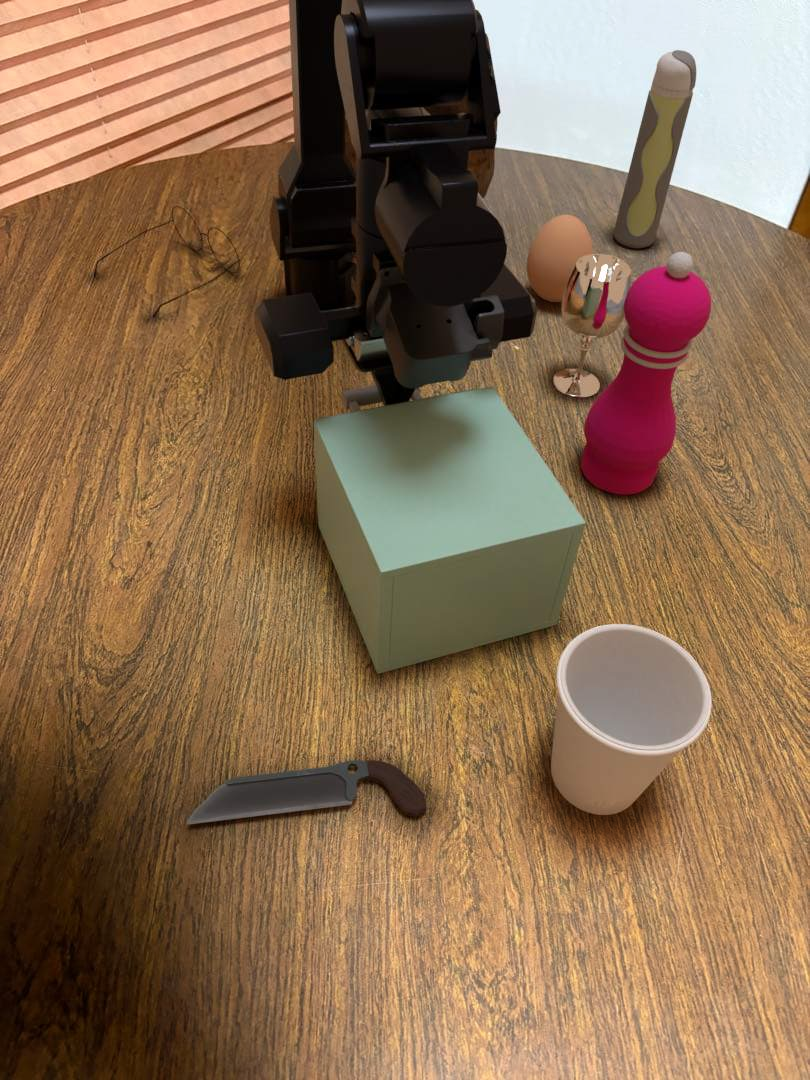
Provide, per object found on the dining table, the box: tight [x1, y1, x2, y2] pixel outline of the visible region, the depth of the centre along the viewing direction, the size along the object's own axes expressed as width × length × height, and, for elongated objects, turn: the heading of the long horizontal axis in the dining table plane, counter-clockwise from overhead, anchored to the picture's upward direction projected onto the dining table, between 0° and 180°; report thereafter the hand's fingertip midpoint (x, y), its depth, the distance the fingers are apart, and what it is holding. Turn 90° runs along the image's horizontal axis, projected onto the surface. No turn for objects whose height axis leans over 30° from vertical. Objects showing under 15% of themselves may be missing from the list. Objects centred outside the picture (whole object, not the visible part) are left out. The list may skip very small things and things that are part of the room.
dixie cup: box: [550, 623, 713, 816], centre depth 50 cm, size 8×8×10 cm
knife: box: [186, 759, 427, 825], centre depth 51 cm, size 14×4×1 cm, turn 99°
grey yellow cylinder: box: [613, 49, 697, 249], centre depth 93 cm, size 5×5×20 cm
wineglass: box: [552, 253, 632, 399], centre depth 77 cm, size 6×6×12 cm
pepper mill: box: [580, 251, 712, 496], centre depth 66 cm, size 7×7×20 cm
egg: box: [526, 214, 594, 303], centre depth 88 cm, size 7×7×9 cm
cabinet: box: [313, 386, 587, 675], centre depth 60 cm, size 15×14×11 cm
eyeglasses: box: [93, 205, 241, 319], centre depth 89 cm, size 11×13×5 cm
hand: (393, 415), depth 65 cm, fingers closed
